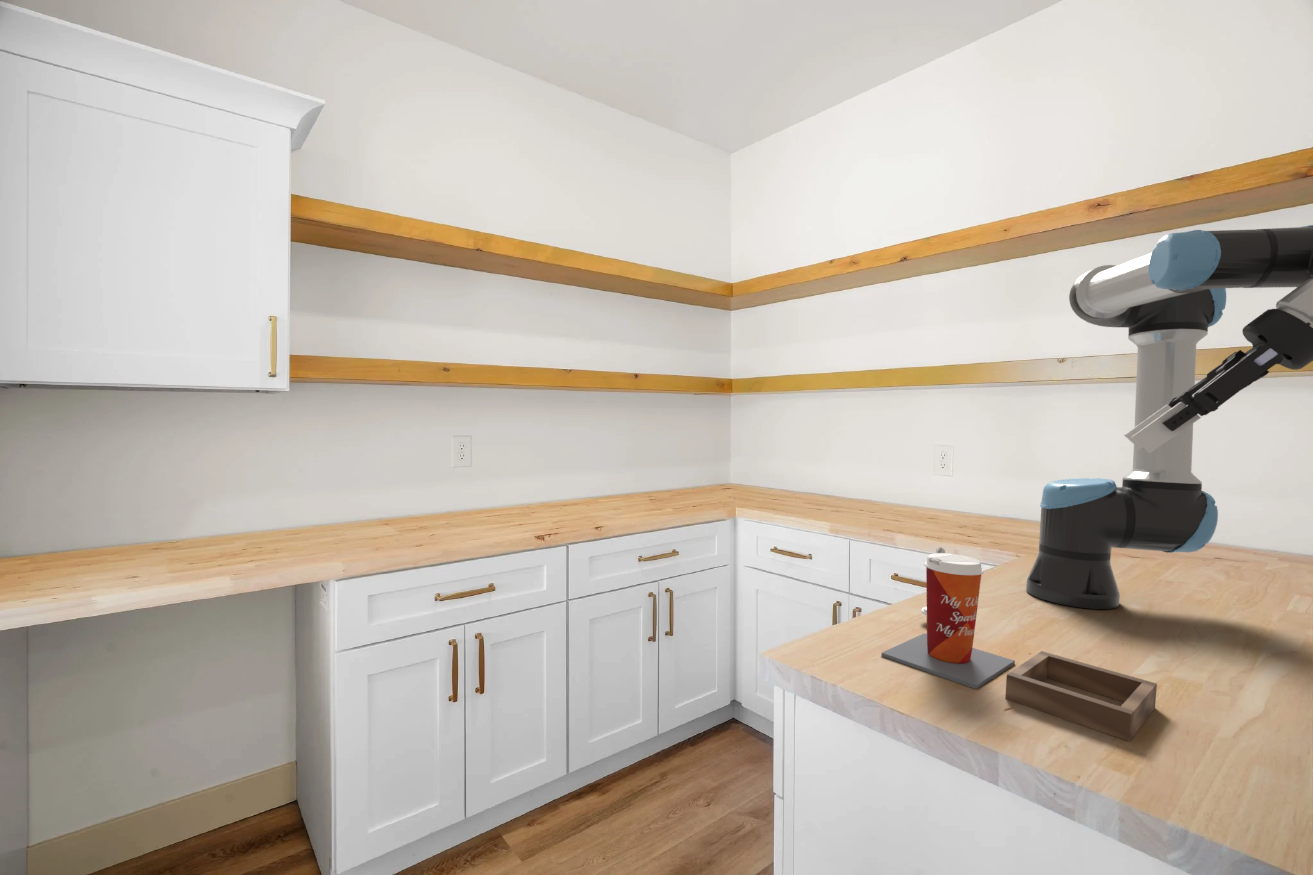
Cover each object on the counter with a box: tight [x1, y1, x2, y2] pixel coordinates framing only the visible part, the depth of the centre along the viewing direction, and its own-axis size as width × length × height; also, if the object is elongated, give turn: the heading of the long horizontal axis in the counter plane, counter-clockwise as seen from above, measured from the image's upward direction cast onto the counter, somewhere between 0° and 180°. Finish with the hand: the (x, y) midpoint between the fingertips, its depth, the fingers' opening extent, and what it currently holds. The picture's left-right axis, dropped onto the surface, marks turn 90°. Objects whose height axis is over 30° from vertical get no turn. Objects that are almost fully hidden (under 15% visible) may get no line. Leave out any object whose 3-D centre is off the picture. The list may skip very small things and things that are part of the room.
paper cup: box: [923, 552, 985, 664], centre depth 87 cm, size 8×8×14 cm
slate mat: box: [881, 632, 1016, 690], centre depth 87 cm, size 13×13×1 cm
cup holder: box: [1004, 650, 1158, 742], centre depth 75 cm, size 12×12×3 cm
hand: (1135, 443), depth 83 cm, fingers open, 13 cm apart
